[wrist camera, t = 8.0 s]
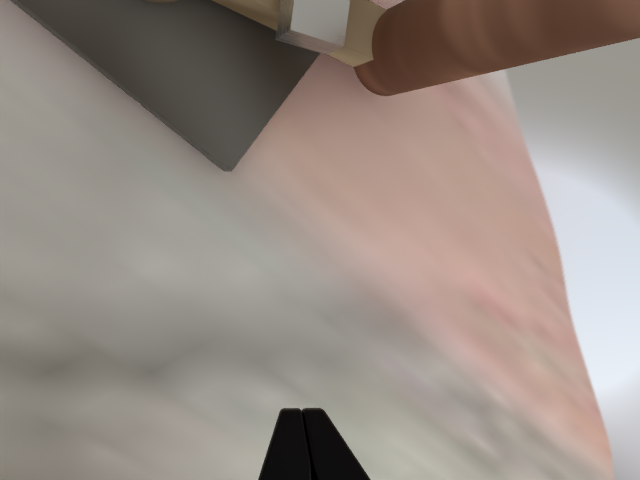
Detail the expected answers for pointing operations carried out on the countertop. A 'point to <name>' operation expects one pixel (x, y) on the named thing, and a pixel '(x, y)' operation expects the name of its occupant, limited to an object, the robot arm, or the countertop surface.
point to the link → (461, 35)
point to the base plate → (184, 64)
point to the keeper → (313, 24)
